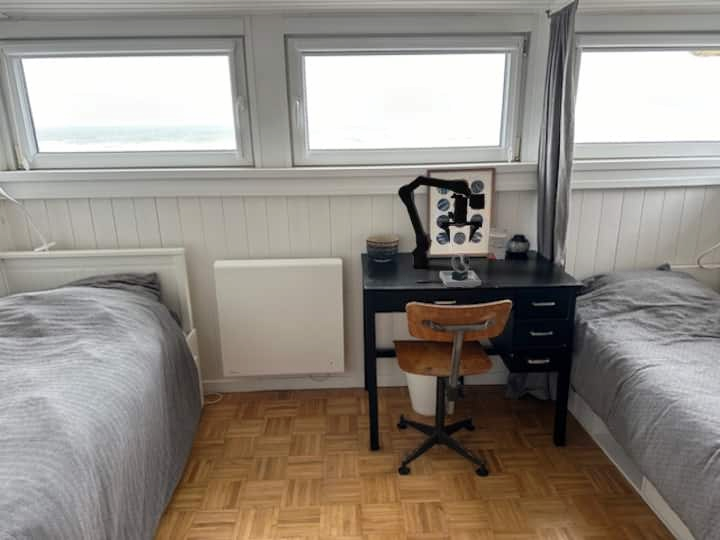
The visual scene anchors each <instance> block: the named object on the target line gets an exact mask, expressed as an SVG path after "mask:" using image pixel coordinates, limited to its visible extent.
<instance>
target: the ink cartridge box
mask: <svg viewBox="0 0 720 540" xmlns="http://www.w3.org/2000/svg"><path fill="white" fill-rule="evenodd" d="M507 232H508V229H507V228H500V227H498V228H497V227H490V229H489V235H488V241H487V253H486V259H490V260H491V259H492V260H500V259H502V260H503V259H504V260H505V258H506V252H507V251H506V250H507V241H508V240H507V239H508V238H507V237H508V233H507ZM504 260H503V261H504Z"/></svg>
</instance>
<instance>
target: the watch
mask: <svg viewBox="0 0 720 540" xmlns="http://www.w3.org/2000/svg"><path fill="white" fill-rule="evenodd" d="M457 256H459V257H460V262H461V264H462V266H463V267H464V270H463V269H459V266H458V265H457V262H456V258H457ZM451 265H452V268H453V271H454V272H452V280H456V281H463V280H465V279H467V278H468V271H469V269H470V267H471V259H470V257H469V256H468V255H466V254H465V253H457V254H454V255H453V256H452V257H451Z"/></svg>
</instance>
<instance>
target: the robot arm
mask: <svg viewBox="0 0 720 540" xmlns="http://www.w3.org/2000/svg"><path fill="white" fill-rule="evenodd" d="M420 186H424V187H425V186H426V187H431V188H433V187H434V188H437V189H438V188H439V189H445V190H448V191H451V192H453V194H452V195H451V196H449V197H450V199H454V208H453V211H448V212H447V219H440V220H438V224H437V225H438V227H439V229H442V230H443V231H444V232H445V234H446V238H447V242H448V243H449V244H450V243H451V229H450V227H463V226H464V227H465V226H466V227H468V226H469V235H468V242H469V243H471V242H472V240H473V237H474V235H475V234H476V232H477V231H478V230H480V229H481V228H483V221H481V220H480V219H479V218H475V219H474V218H473V219H470V221H469V220H468V207H470V209H471V210H485V207H486V194H485V193H474V192H473V190H472V189H471V187H470V183H469V182H468V180H466V179H464V178H462V179H461V178H459V179H458V178H455V179H444V178H439V177H431V176H426V175H422V174H421V175H419V176H416V178H415V179H414V180H412V181H411V182H409V183H408V184H406V183H405V184H404V185H402V186H401V187H400V188H398V190H397V194H398V197H399V198H400V201H401V202H402V203H403V205H404V206H405V208H406V210H407V213H408V217H409V219H410V222H411V223H410V224H411V226H412V228H413V231H414V234H415V244H416V246H415V248H414V249H412V251H411V254H412V263H411V266H412V269H414V270H415V269H428V266H429V265H428V264H429V257H428V254H427V252H428V251H429V250H430V249H431V247H432V242H433V240H432V239H431V234H430V233H426V231H425V229H424V226H423V223H422V220H421V218H420V215H419V211H418V208H417V206H416V203H415V200H416V199H415V190H417V189H418V188H419V187H420ZM449 220H451V221H449Z"/></svg>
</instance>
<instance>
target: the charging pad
mask: <svg viewBox="0 0 720 540" xmlns="http://www.w3.org/2000/svg"><path fill="white" fill-rule="evenodd" d="M454 271H455V270H439V279H431V280H430V279H427V280H424V279H423V280H420V279H419V280H416V279H415V283H416V282H431V283H444V284H445V285H446V286H472V285H481V286H482V280H481V279H480V278H479V276H478V275H477V274H476V272H475V271H474V270H467V271H468V278H467V279H465V280H463V281H456V280H452V272H454ZM441 279H442V280H441ZM444 284H443V285H444ZM445 285H444V286H445Z"/></svg>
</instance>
